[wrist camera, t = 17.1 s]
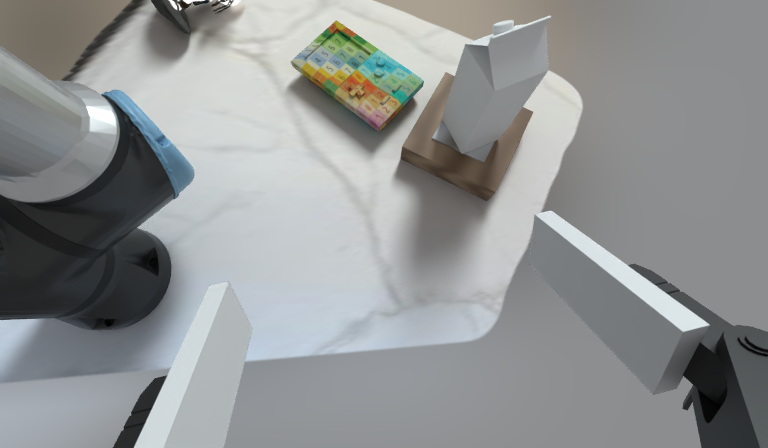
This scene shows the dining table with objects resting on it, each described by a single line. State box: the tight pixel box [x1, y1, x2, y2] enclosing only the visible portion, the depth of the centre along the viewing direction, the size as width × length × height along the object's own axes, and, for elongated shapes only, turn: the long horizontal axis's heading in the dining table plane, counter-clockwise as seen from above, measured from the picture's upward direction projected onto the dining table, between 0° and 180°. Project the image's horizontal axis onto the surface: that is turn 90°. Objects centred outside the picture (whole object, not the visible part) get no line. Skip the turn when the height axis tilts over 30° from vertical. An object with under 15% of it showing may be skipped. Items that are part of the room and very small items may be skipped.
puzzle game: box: [291, 21, 424, 132], centre depth 56 cm, size 12×5×20 cm
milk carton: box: [442, 16, 551, 154], centre depth 42 cm, size 7×7×19 cm
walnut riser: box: [401, 73, 533, 201], centre depth 53 cm, size 16×16×4 cm
